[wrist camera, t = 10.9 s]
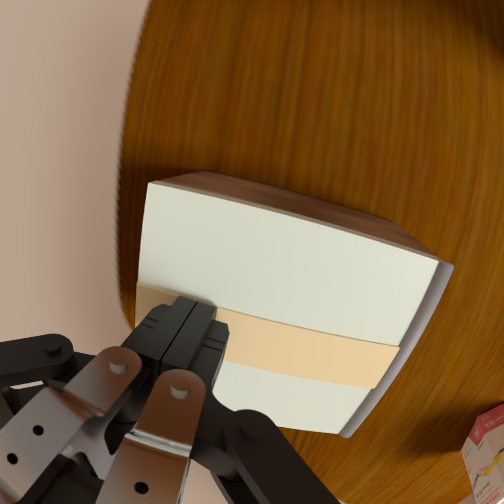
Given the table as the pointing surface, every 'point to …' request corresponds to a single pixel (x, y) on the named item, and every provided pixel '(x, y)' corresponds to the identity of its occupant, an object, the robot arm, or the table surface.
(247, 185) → the box
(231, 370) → the lid
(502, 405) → the ink cartridge box
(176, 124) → the table surface
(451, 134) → the table surface
